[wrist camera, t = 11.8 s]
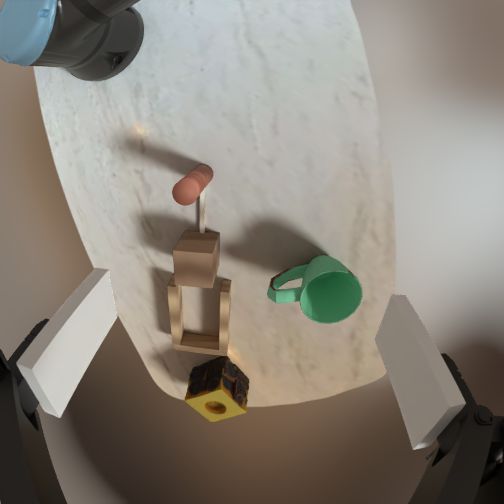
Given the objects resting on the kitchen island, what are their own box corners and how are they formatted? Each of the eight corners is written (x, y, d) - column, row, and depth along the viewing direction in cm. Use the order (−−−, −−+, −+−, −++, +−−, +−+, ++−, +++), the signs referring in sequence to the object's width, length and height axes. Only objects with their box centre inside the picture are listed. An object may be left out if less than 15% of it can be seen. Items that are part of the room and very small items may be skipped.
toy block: (226, 353, 64) (221, 388, 55) (251, 379, 67) (248, 412, 58) (190, 367, 67) (182, 400, 58) (216, 391, 70) (211, 423, 61)
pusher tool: (185, 163, 47) (161, 179, 36) (222, 165, 47) (208, 181, 36) (186, 261, 54) (168, 299, 43) (219, 264, 54) (208, 303, 43)
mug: (350, 241, 51) (366, 268, 42) (345, 289, 55) (358, 321, 46) (266, 244, 52) (266, 273, 43) (268, 292, 56) (268, 326, 47)
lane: (173, 274, 56) (167, 286, 52) (231, 280, 56) (229, 292, 52) (177, 336, 62) (173, 349, 59) (228, 342, 62) (226, 356, 59)
